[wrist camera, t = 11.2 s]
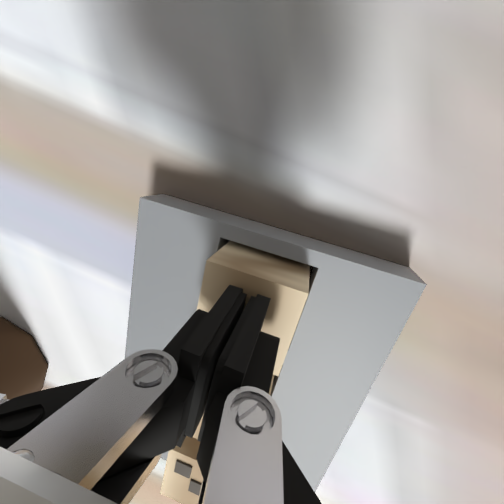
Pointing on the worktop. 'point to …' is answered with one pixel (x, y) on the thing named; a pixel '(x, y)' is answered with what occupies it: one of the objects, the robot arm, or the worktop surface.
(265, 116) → the worktop surface
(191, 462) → the key
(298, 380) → the board
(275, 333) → the key
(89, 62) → the worktop surface
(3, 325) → the beer bottle
